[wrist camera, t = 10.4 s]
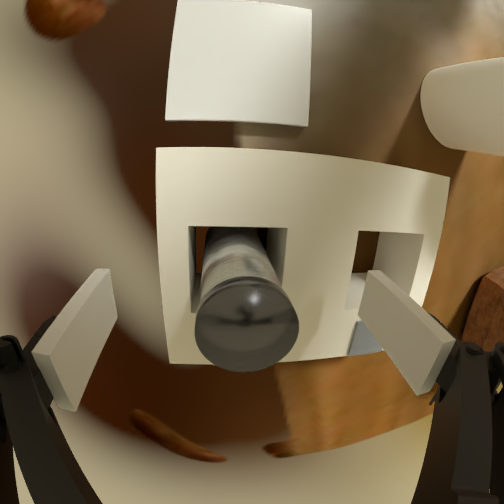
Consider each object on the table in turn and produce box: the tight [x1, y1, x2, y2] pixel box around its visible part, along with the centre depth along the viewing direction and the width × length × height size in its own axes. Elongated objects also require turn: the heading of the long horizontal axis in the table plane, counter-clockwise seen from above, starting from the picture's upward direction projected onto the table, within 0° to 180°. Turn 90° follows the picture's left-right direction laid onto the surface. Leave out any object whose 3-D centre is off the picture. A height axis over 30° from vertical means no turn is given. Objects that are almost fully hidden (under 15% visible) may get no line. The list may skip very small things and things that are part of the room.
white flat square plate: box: [165, 0, 312, 127], centre depth 17 cm, size 10×10×1 cm
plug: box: [194, 226, 299, 372], centre depth 17 cm, size 4×4×12 cm
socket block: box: [156, 147, 450, 365], centre depth 20 cm, size 14×19×6 cm
